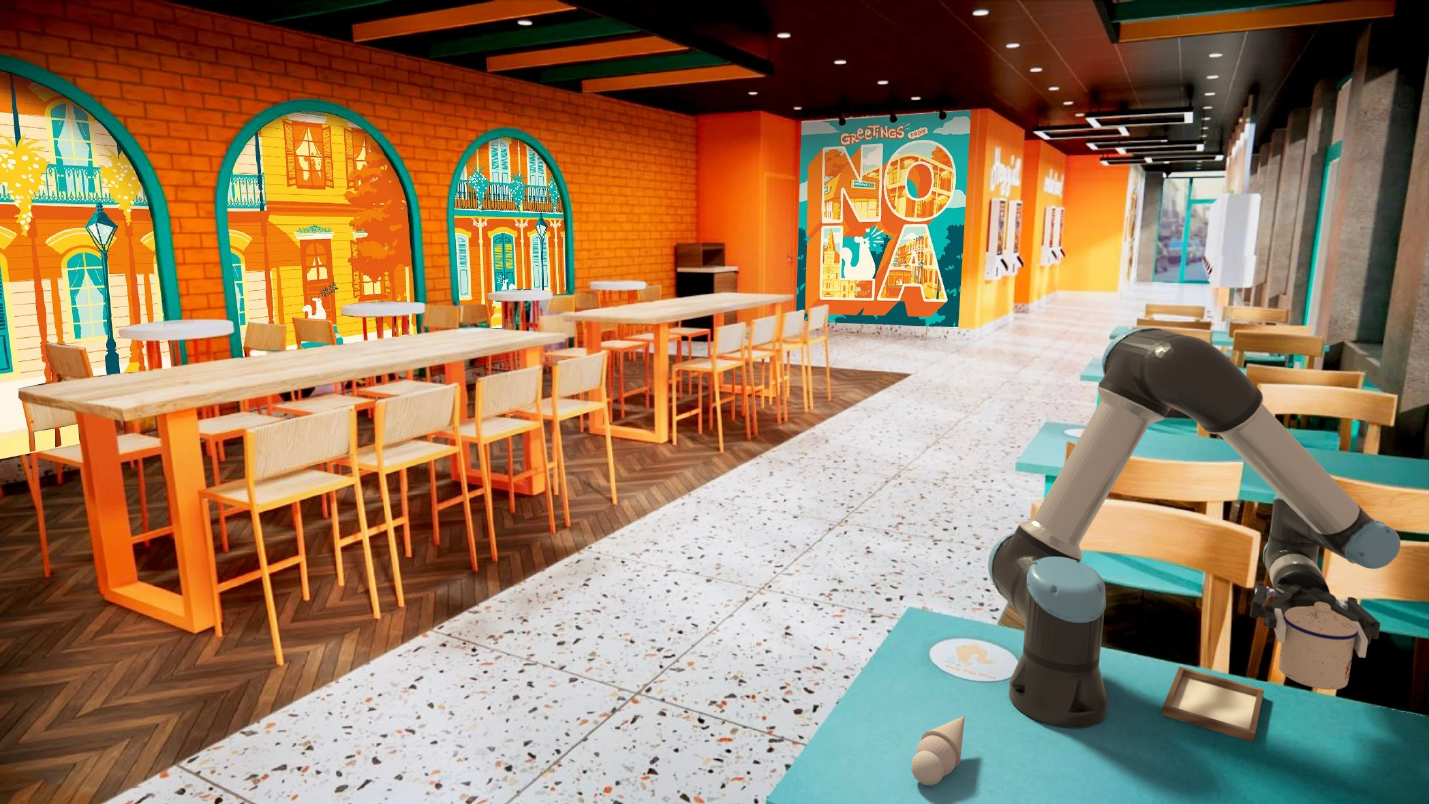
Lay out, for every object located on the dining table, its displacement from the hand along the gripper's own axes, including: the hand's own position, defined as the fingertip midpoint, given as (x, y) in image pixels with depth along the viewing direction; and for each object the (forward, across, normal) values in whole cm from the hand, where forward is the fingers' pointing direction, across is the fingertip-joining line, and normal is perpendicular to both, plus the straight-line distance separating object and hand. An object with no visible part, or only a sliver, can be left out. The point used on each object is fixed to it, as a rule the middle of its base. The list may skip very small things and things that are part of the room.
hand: (1322, 641), depth 123 cm
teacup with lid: (-4, 0, -7) cm, 8 cm away
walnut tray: (-8, +12, -18) cm, 23 cm away
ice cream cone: (+28, +48, -18) cm, 59 cm away
